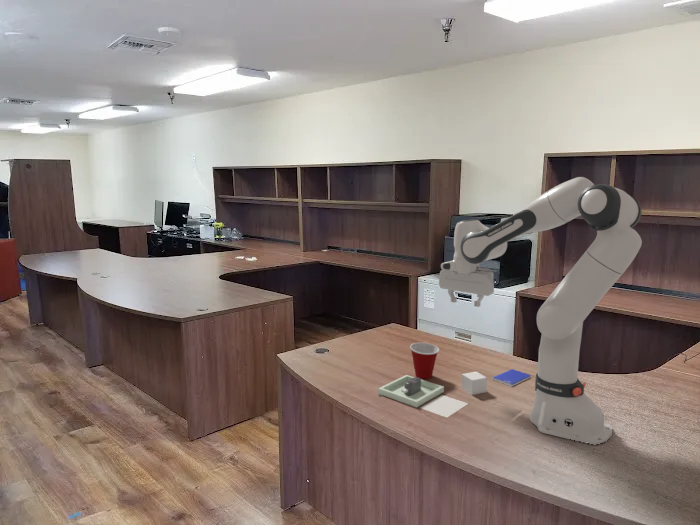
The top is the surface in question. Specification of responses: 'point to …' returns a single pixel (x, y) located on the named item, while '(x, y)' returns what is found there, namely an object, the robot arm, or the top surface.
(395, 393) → the tray
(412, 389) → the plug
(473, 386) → the white cube
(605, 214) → the robot arm
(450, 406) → the mat
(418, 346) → the plastic cup
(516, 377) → the hard drive
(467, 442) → the top surface
